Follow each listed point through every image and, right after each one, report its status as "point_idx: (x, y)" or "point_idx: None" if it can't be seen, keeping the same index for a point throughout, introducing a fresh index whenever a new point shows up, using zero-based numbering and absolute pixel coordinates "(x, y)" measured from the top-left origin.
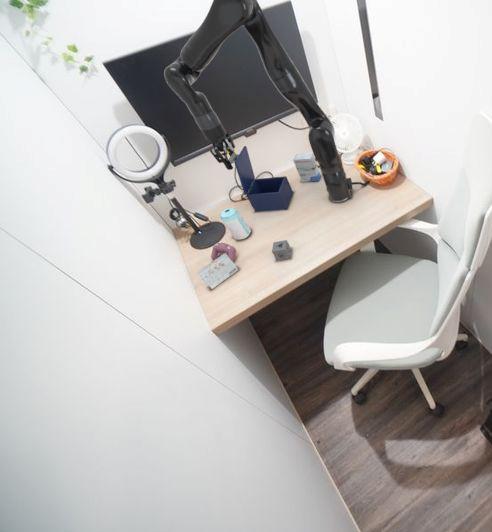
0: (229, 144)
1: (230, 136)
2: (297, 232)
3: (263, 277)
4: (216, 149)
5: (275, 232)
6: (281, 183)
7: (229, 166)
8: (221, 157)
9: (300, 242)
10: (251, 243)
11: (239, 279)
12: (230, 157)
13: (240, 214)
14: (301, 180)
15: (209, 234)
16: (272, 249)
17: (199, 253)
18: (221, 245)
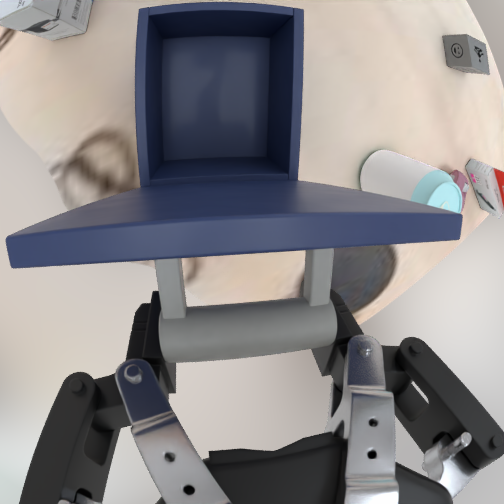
0: (178, 471)
1: (29, 487)
2: (393, 9)
3: (488, 103)
4: (500, 452)
5: (389, 70)
6: (153, 50)
7: (339, 304)
8: (454, 381)
9: (425, 11)
10: (416, 140)
11: (484, 152)
12: (281, 348)
13: (426, 168)
14: (83, 29)
15: (349, 278)
16: (485, 72)
17: (405, 269)
18: (462, 206)
